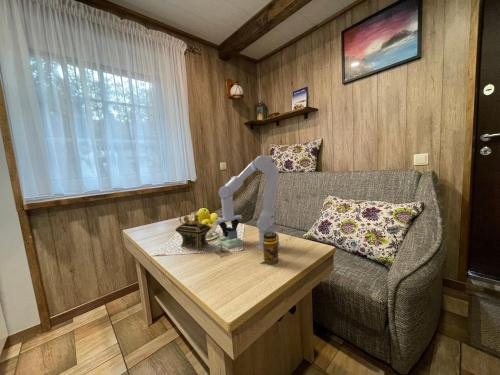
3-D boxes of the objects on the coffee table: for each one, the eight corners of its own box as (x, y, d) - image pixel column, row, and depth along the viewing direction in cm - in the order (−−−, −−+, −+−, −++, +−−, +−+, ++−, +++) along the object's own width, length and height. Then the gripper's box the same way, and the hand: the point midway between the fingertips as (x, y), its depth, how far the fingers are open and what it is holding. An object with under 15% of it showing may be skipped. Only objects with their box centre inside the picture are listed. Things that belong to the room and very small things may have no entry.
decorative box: (213, 244, 112) (210, 208, 110) (200, 252, 104) (196, 212, 101) (185, 240, 122) (182, 206, 120) (172, 246, 114) (167, 210, 111)
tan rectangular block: (233, 254, 98) (232, 246, 98) (221, 258, 95) (220, 250, 95) (224, 248, 106) (223, 241, 106) (213, 252, 103) (212, 244, 102)
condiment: (275, 267, 85) (274, 238, 83) (256, 263, 89) (254, 235, 88) (282, 259, 91) (280, 231, 90) (264, 256, 95) (262, 229, 94)
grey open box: (237, 237, 110) (236, 230, 109) (229, 240, 107) (229, 232, 107) (229, 233, 117) (229, 226, 116) (222, 235, 114) (221, 228, 114)
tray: (244, 244, 109) (244, 241, 109) (228, 250, 104) (227, 246, 104) (233, 238, 120) (232, 235, 120) (217, 242, 115) (217, 239, 115)
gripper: (236, 205, 117) (238, 230, 119) (211, 210, 109) (213, 236, 111) (243, 207, 111) (244, 233, 113) (217, 213, 103) (219, 240, 105)
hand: (229, 235), depth 112 cm, fingers closed on grey open box, 4 cm apart
